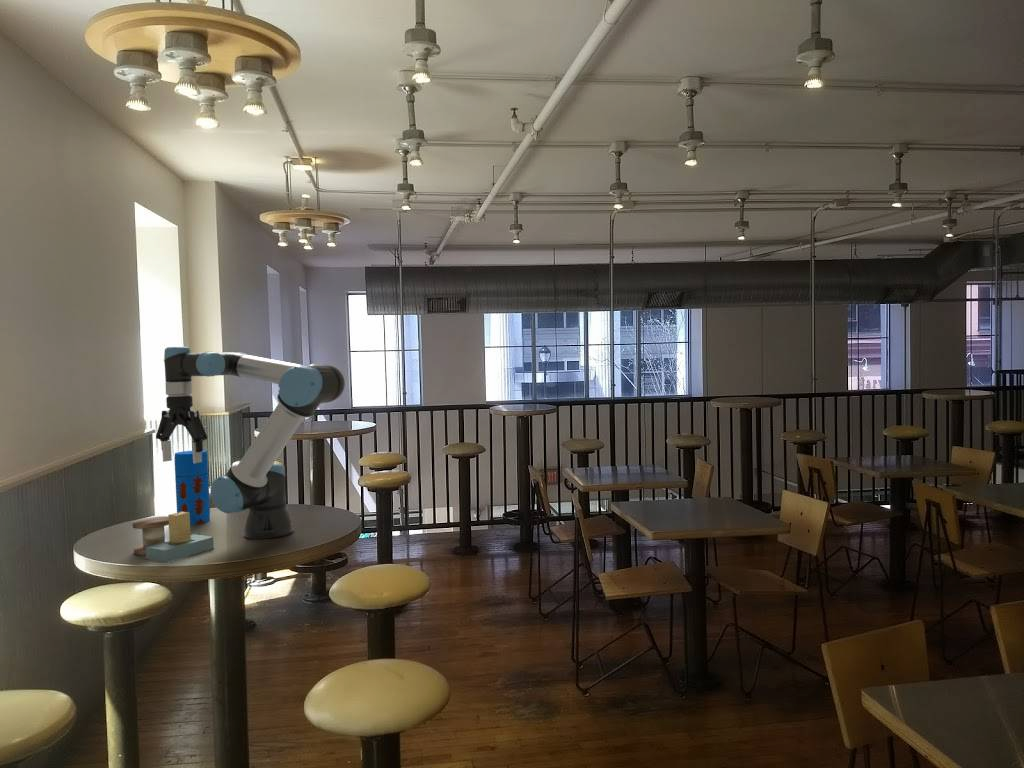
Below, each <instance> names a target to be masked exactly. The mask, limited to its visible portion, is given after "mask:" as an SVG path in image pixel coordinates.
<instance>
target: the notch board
mask: <svg viewBox="0 0 1024 768" xmlns="http://www.w3.org/2000/svg"><path fill="white" fill-rule="evenodd" d="M214 544H215V543H214V536H210V535H209V536H208V535H201V534H196V533H193V534H191V542H188V543H184V544H180V545H177V546H176V545H170V540H167V541H166V540H165V542H163V543H159V544H155V545H152V546H148V547H146V556H145V559H146V560H149V559H150V560H149V561H154V562H160V563H165V562H166V563H169V562H173V561H176V560H179V559H183V558H185V557H190V556H193V555H196V554H200V553H203V552H206V551H209V550H213V549H215V548H214V547H215V545H214Z"/></svg>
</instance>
